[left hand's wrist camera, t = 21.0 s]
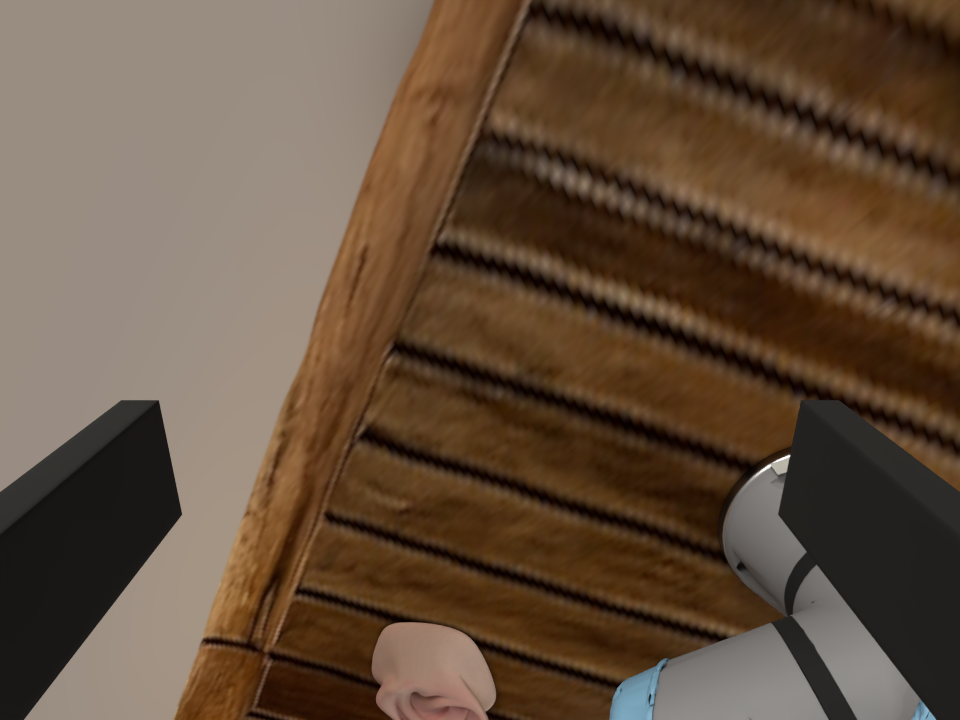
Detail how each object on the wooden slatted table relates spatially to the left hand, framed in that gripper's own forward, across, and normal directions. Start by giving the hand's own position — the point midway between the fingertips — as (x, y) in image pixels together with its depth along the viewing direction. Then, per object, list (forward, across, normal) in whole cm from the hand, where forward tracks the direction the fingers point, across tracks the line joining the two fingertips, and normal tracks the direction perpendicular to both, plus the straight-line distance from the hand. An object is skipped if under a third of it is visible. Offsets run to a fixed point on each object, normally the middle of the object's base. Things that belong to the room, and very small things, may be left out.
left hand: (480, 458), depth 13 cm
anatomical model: (+34, -5, -43) cm, 55 cm away
